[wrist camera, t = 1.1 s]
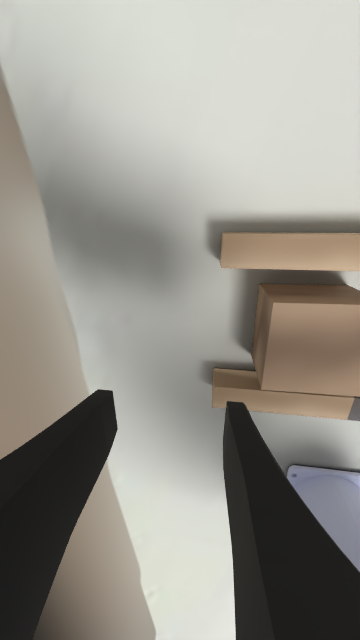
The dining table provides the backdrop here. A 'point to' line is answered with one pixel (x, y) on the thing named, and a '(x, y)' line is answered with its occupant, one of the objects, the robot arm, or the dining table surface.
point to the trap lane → (288, 255)
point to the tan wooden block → (308, 339)
